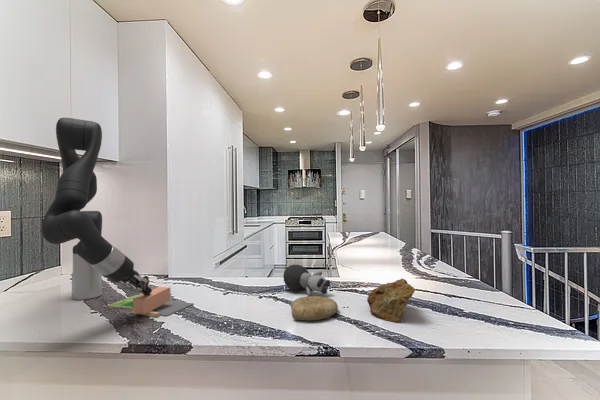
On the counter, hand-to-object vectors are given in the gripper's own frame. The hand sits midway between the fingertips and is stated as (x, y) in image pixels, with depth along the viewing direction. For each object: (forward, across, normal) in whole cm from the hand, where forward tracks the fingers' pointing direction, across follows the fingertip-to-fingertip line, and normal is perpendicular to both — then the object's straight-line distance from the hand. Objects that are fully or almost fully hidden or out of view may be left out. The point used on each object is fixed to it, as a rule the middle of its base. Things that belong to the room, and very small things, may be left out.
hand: (148, 292), depth 99 cm
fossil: (+18, -50, -8) cm, 54 cm away
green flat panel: (+12, +15, -1) cm, 19 cm away
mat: (+9, 0, +1) cm, 9 cm away
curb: (+3, 0, +6) cm, 7 cm away
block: (0, 0, +5) cm, 5 cm away
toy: (+33, -40, -22) cm, 57 cm away
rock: (+25, -72, -15) cm, 78 cm away
